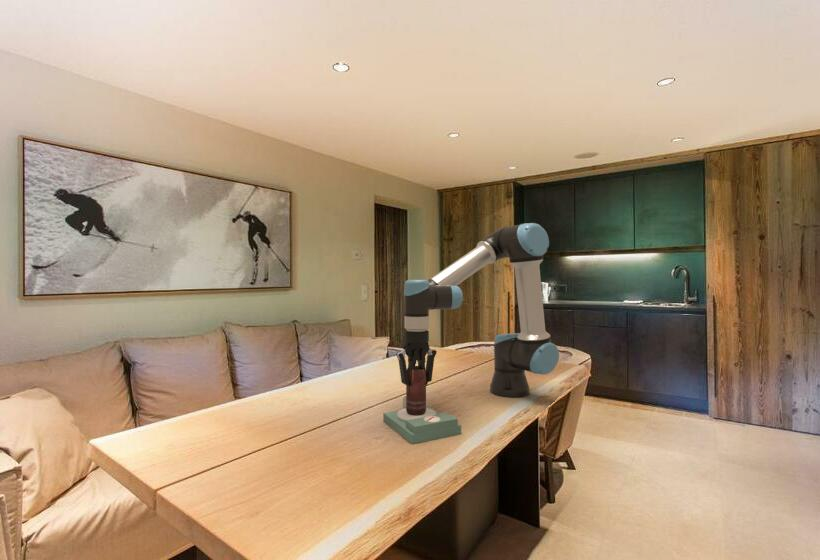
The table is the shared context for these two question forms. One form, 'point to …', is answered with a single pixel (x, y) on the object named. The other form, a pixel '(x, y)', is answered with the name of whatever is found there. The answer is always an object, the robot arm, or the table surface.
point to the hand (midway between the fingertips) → (416, 405)
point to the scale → (422, 425)
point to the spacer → (404, 402)
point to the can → (416, 392)
